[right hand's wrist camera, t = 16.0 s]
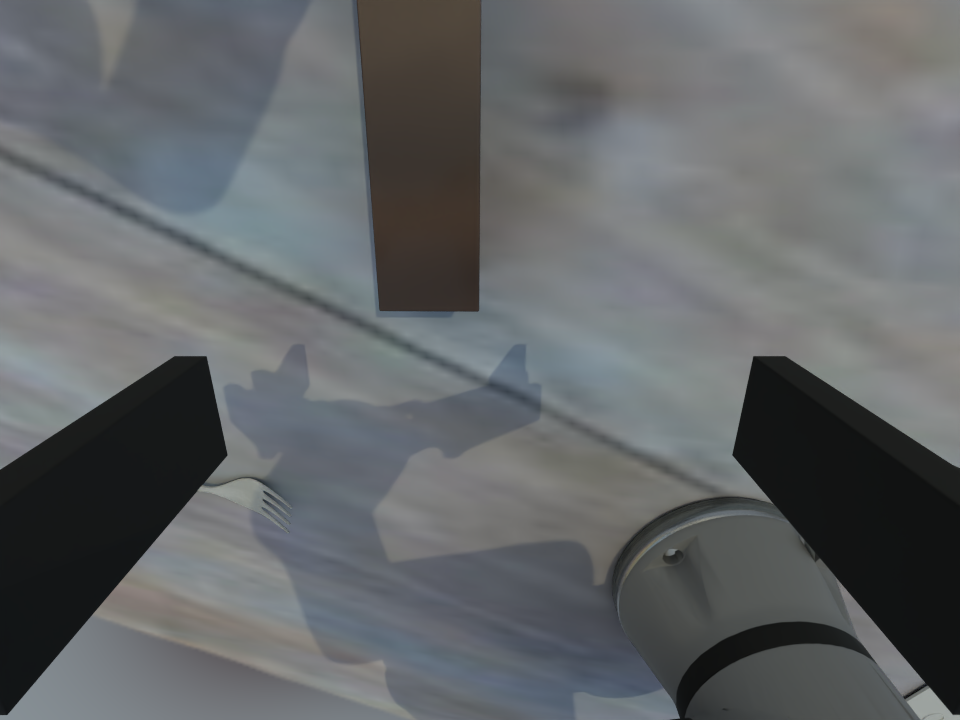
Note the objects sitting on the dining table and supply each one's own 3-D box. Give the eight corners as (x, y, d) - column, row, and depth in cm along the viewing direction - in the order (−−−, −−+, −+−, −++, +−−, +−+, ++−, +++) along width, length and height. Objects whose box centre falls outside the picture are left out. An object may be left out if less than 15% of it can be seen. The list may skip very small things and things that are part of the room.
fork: (58, 440, 34) (34, 457, 32) (302, 486, 35) (292, 505, 33) (61, 472, 34) (38, 491, 33) (298, 516, 36) (288, 536, 34)
